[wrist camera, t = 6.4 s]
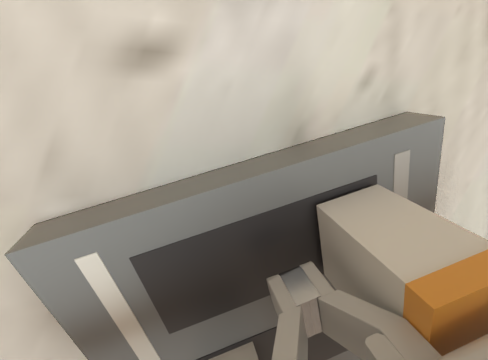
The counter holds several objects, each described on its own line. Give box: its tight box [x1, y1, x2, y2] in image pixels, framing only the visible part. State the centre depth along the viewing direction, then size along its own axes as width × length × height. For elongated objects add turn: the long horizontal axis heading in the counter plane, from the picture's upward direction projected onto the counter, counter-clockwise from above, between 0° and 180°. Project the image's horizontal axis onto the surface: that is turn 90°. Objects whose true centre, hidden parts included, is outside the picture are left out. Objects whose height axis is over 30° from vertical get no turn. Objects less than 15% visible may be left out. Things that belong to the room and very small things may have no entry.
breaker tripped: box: [316, 184, 488, 356], centre depth 9 cm, size 3×4×5 cm
